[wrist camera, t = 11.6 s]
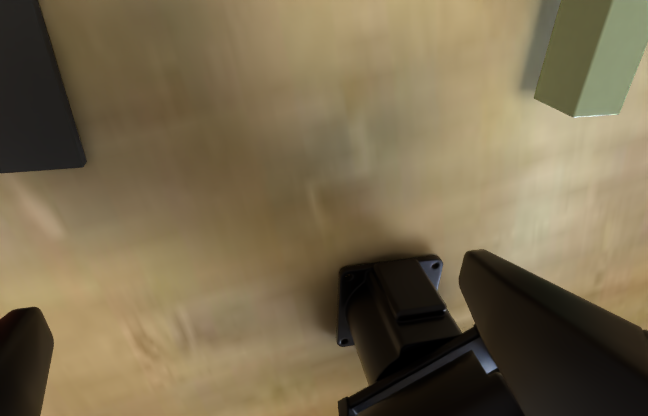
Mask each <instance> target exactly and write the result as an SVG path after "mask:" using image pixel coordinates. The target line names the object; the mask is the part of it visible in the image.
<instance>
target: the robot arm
mask: <svg viewBox="0 0 648 416" xmlns="http://www.w3.org/2000/svg"><path fill="white" fill-rule="evenodd" d="M434 263H435V264H434ZM433 264H434V265H433ZM442 267H443V262H442V261H441V259H440V258H439V257H438V256H426V257H418V258H410V259H403V260H395V261H387V262H379V263H371V264H363V265H356V266H348V267H344V268H343V269H341V270H340V272H339V282H338V303H337V324H336V340H337V344H338V345H339V346H341V347H345V346H351V345H355V346H356V349H357V352H358V355H359V358H360V361H361V364H362V367H363V369H364V372H365V375H366V378H367V381H368V384H369V386H368V387H366V388H364V389H363V390H361V391H359V392H357V393H356V394H354V395H352V396H350V397H345V398H343V399H341V400H340V401H338V410H339V416H648V331H647V330H642V328H641V327H639V326H637V325H635V324H633V323H631V322H629V321H627V320H625V319H623V318H621V317H619V316H617V315H615V314H613V313H611V312H609V311H607V310H605V309H603V308H601V307H599V306H597V305H595V304H593V303H591V302H589V301H587V300H585V299H583V298H581V297H579V296H577V295H575V294H573V293H571V292H569V291H567V290H565V289H563V288H561V287H559V286H557V285H555V284H553V283H551V282H549V281H547V280H545V279H543V278H541V277H539V276H537V275H535V274H533V273H531V272H529V271H527V270H525V269H523V268H521V267H519V266H517V265H515V264H513V263H511V262H509V261H507V260H505V259H503V258H501V257H499V256H497V255H495V254H493V253H491V252H489V251H487V250H484V249H479V250H471V251H468V252H466V253H465V255H464V258H463V263H462V267H461V271H460V275H459V286H460V289H461V291H462V294H463V296H464V298H465V301H466V303H467V305H468V307H469V310H470V312H471V314H472V317H473V319H474V321H475V324H474V327H472V328H471V329H469V330H467V331H465V332H464V333H462V332H461V330H460V329H459V327H458V326H457V324H456V322H455V321H454V319H453V318H452V316H451V315H450V313H449V311H448V310H447V307H446V304H445V303H444V301H443V299H442V298H441V296H440V295H439V293H438V292H437V290H438V286H439V281H440V276H441V271H442ZM348 274H350V275H349V276H346V275H348ZM53 347H54V340H53V336H52V333H51V331H50V329H49V327H48V324H47V322H46V320H45V318H44V316H43V314H42V312H41V310H40V309H39V308H37V307H28V308H20V309H15V310H12V311H10V312H9V313H8V314H6V315H5V316H4V317H3V318H1V319H0V416H40V414H41V410H42V405H43V399H44V394H45V389H46V384H47V379H48V373H49V368H50V363H51V358H52V353H53Z"/></svg>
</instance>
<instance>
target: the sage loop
mask: <svg viewBox="0 0 648 416" xmlns="http://www.w3.org/2000/svg"><path fill="white" fill-rule="evenodd" d="M647 43H648V0H561V3H560V6H559V10H558V13H557V17H556V20H555V24H554V27H553V31H552V35H551V38H550V42H549V45H548V49H547V52H546V56H545V59H544V63H543V66H542V70H541V74H540V77H539V81H538V84H537V88H536V91H535V95H534V99H536V100H538V101H540V102H542V103H544V104H546V105H549V106H551V107H553V108H555V109H557V110H559V111H561V112H563V113H565V114H567V115H569V116H571V117H589V116H604V115H618V114H619V113H620V111H621V108H622V106H623V103H624V101H625V98H626V96H627V93H628V91H629V88H630V86H631V83H632V81H633V78H634V76H635V73H636V71H637V68H638V66H639V63H640V61H641V58H642V56H643V53H644V51H645V48H646V46H647Z"/></svg>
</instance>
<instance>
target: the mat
mask: <svg viewBox="0 0 648 416" xmlns="http://www.w3.org/2000/svg"><path fill="white" fill-rule="evenodd" d="M86 162H87V161H86V158H85V154H84V151H83V148H82V145H81V141H80V138H79V135H78V131H77V128H76V125H75V122H74V118H73V115H72V112H71V108H70V105H69V102H68V99H67V95H66V92H65V89H64V85H63V82H62V79H61V76H60V72H59V69H58V66H57V63H56V59H55V56H54V53H53V49H52V46H51V43H50V40H49V36H48V33H47V30H46V26H45V23H44V20H43V17H42V13H41V10H40V7H39V3H38V0H0V173H13V172H27V171H41V170H55V169H68V168H82V167H84V165H85V164H86Z"/></svg>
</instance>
